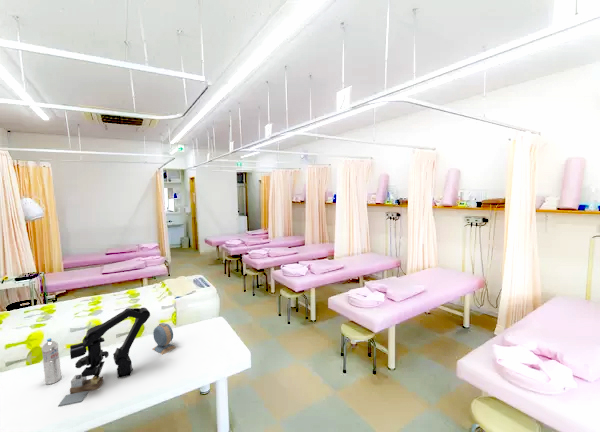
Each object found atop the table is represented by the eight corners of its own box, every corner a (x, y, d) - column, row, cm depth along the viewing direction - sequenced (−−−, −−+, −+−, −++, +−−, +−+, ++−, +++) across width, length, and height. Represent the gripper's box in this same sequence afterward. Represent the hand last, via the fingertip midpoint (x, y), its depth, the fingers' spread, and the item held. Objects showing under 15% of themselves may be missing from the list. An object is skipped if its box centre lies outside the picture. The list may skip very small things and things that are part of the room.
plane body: (103, 381, 155) (102, 376, 155) (98, 389, 149) (98, 383, 149) (75, 386, 151) (75, 381, 151) (70, 394, 146) (69, 389, 145)
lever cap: (86, 380, 152) (86, 372, 152) (82, 386, 147) (81, 378, 147) (76, 382, 151) (75, 374, 150) (71, 388, 146) (70, 380, 146)
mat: (88, 391, 147) (88, 390, 147) (81, 401, 140) (81, 400, 140) (66, 396, 145) (66, 394, 144) (58, 406, 137) (58, 405, 137)
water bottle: (48, 386, 152) (43, 343, 150) (43, 382, 156) (39, 340, 153) (63, 379, 158) (59, 337, 156) (59, 375, 161) (54, 334, 159)
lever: (99, 379, 152) (99, 374, 152) (97, 383, 149) (96, 377, 149) (93, 381, 151) (92, 375, 151) (90, 384, 148) (90, 378, 148)
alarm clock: (176, 347, 188) (175, 323, 186) (163, 355, 180) (161, 329, 178) (164, 342, 195) (163, 318, 194) (151, 348, 187) (149, 324, 186)
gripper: (85, 344, 158) (88, 370, 159) (68, 364, 140) (71, 392, 141) (107, 341, 161) (110, 366, 162) (93, 360, 143) (96, 388, 144)
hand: (97, 377), depth 153 cm, fingers closed
